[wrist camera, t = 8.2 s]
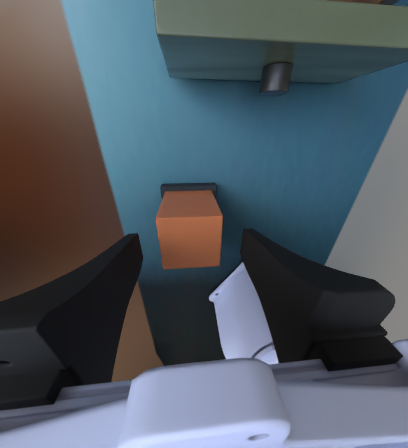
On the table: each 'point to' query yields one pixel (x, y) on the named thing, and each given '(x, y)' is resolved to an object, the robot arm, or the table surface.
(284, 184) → the table surface
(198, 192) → the block
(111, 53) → the table surface
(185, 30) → the drawer
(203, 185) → the coaster
